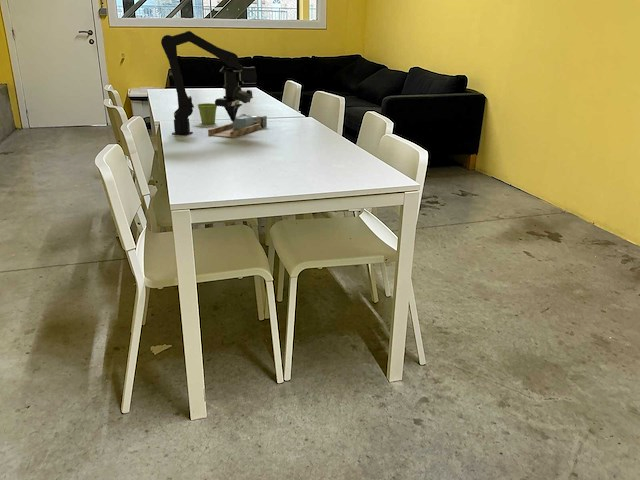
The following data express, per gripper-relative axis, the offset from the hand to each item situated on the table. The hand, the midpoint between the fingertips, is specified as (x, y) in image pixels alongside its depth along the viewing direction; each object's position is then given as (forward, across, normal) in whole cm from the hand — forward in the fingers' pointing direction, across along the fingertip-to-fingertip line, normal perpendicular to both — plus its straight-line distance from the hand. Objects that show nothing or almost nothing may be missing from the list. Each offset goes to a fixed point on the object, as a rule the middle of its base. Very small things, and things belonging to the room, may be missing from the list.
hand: (233, 121), depth 229 cm
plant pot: (+5, +14, +22) cm, 27 cm away
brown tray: (+5, +2, 0) cm, 5 cm away
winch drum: (+5, +18, 0) cm, 19 cm away
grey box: (+4, +9, 0) cm, 10 cm away
